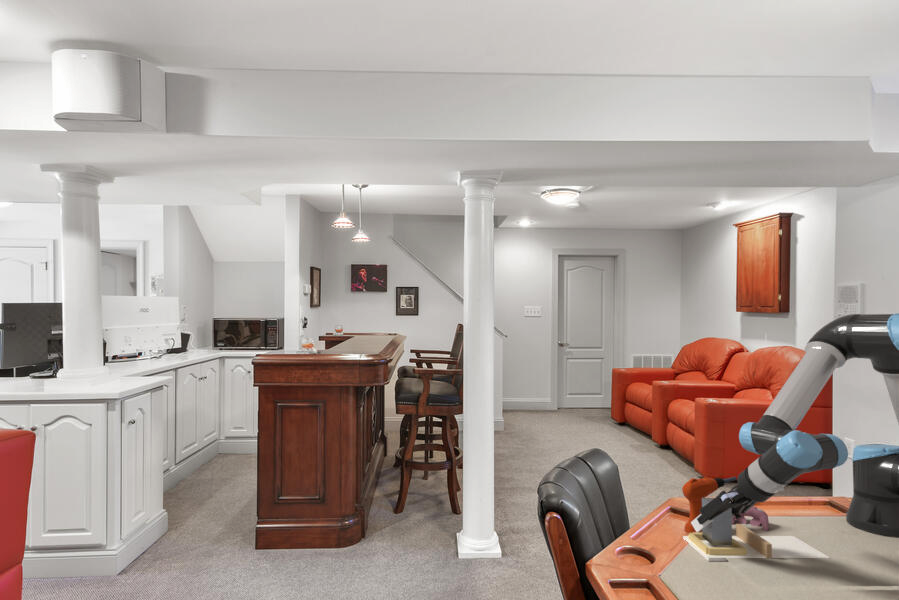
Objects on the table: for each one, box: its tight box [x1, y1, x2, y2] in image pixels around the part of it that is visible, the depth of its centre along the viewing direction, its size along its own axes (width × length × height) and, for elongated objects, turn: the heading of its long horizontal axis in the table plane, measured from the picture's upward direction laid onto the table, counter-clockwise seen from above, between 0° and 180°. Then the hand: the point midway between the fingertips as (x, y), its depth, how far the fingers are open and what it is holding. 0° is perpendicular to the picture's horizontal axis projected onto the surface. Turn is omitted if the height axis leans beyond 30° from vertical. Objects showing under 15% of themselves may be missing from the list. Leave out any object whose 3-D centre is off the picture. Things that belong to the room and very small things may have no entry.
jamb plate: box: [682, 523, 830, 562], centre depth 135 cm, size 30×13×4 cm, turn 92°
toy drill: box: [681, 476, 737, 534], centre depth 148 cm, size 5×19×15 cm, turn 108°
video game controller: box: [732, 505, 770, 532], centre depth 150 cm, size 10×5×7 cm, turn 59°
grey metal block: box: [701, 497, 733, 545], centre depth 134 cm, size 5×5×10 cm
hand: (705, 525), depth 138 cm, fingers closed on grey metal block, 6 cm apart
